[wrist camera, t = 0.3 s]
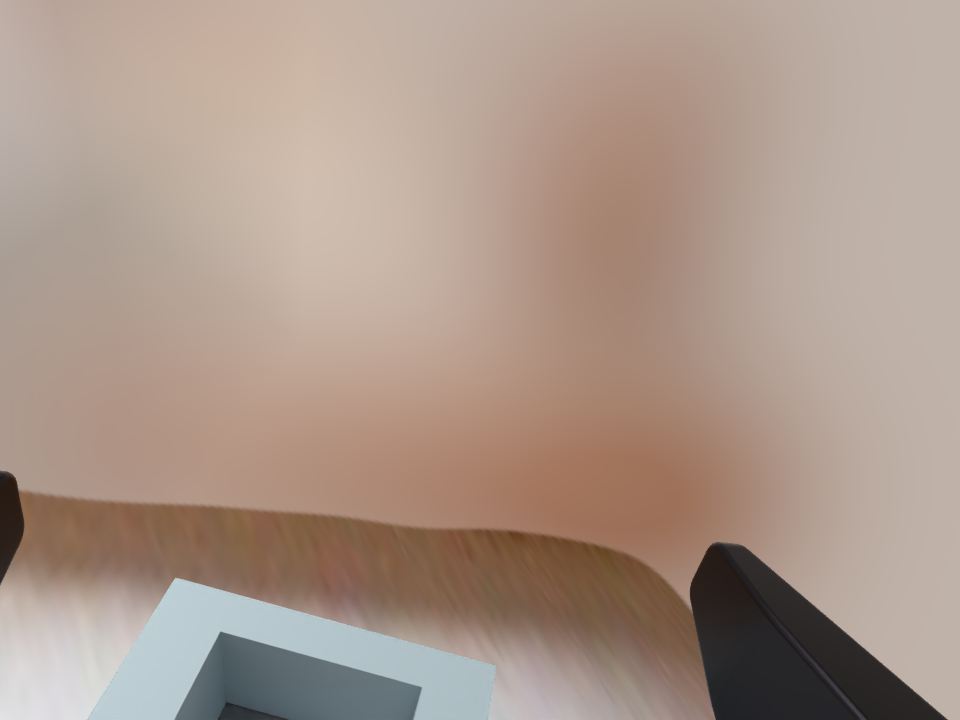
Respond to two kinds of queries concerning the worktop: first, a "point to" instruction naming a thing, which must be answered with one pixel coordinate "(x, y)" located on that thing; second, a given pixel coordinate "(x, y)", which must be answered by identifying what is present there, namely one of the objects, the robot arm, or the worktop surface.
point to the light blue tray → (283, 667)
